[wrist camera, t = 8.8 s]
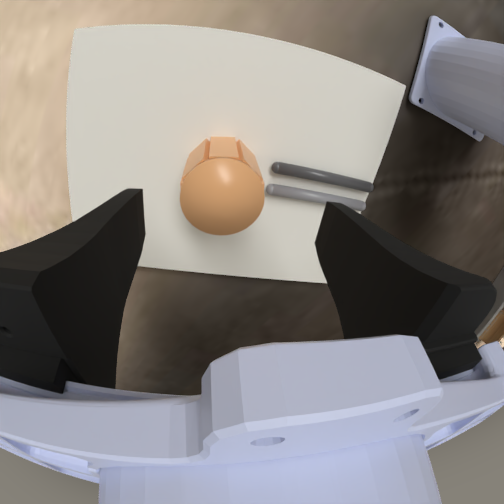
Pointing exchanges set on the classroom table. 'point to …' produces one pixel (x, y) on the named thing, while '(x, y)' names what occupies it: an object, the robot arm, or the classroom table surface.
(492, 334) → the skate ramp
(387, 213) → the classroom table surface
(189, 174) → the wire nut
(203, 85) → the plate
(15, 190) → the classroom table surface
